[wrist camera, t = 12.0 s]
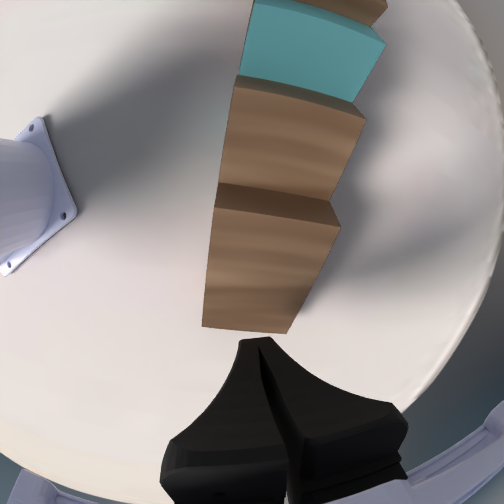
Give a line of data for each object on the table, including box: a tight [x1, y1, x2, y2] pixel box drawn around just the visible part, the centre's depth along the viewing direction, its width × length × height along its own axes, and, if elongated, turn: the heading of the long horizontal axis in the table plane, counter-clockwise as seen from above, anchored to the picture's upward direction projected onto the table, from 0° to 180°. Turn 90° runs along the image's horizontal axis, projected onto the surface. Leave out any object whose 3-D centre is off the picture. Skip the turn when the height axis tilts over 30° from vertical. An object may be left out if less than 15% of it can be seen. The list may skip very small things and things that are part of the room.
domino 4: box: [202, 182, 341, 334], centre depth 13 cm, size 2×5×8 cm
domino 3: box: [218, 75, 366, 201], centre depth 12 cm, size 2×5×8 cm
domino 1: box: [240, 0, 388, 65], centre depth 9 cm, size 2×5×8 cm, turn 81°
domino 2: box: [239, 0, 386, 103], centre depth 10 cm, size 2×5×8 cm
